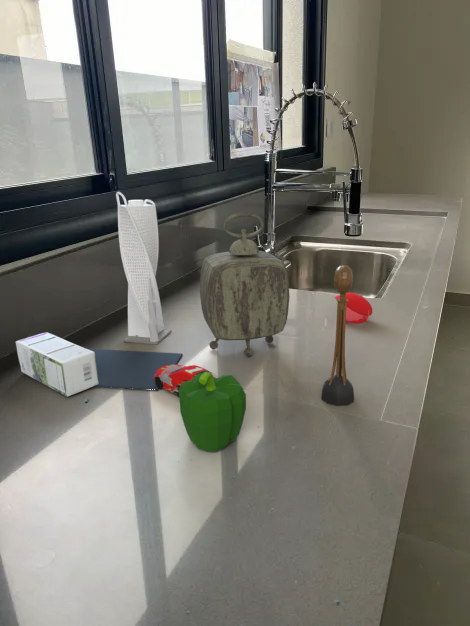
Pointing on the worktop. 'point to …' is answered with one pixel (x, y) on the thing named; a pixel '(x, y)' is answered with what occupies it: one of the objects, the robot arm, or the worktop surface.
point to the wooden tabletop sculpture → (340, 346)
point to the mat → (130, 367)
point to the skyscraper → (141, 269)
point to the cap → (357, 308)
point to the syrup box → (57, 363)
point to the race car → (176, 376)
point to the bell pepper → (212, 410)
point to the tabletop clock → (244, 291)
